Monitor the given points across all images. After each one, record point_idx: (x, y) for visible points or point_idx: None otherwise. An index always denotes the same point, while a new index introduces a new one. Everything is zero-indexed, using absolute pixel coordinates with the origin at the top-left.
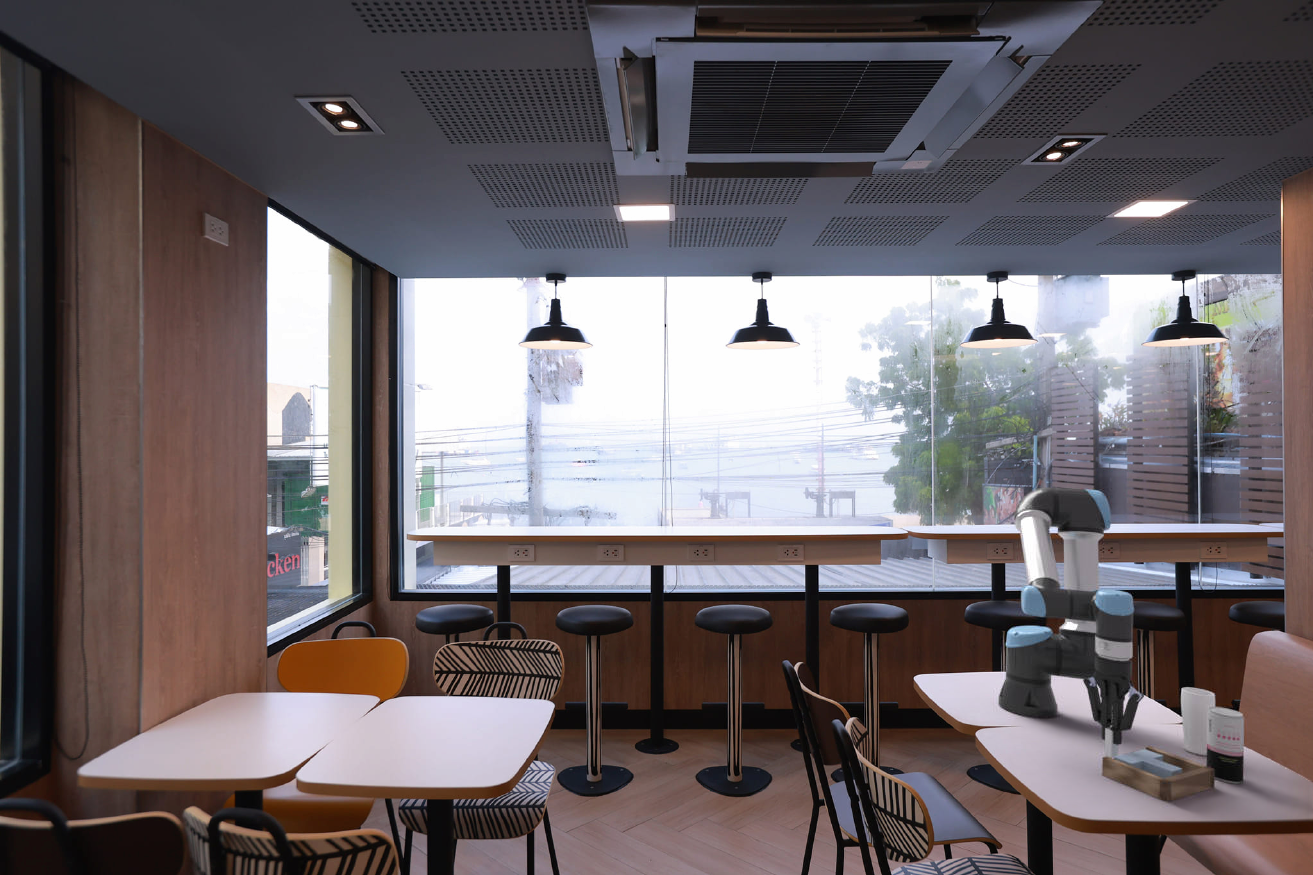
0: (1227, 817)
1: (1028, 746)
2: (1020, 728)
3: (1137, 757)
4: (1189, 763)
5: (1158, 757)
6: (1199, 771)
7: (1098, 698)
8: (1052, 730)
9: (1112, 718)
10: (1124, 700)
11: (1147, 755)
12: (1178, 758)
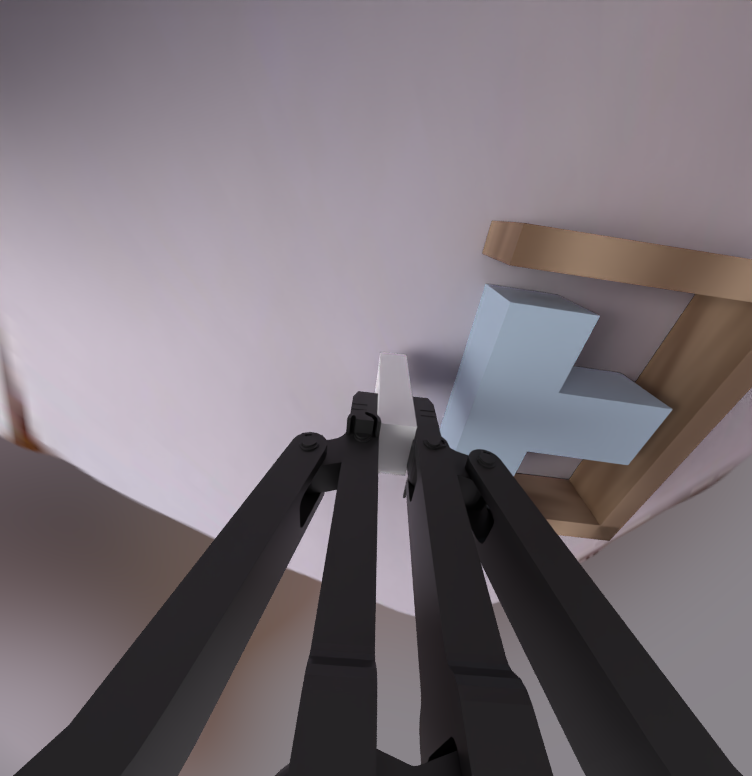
0: (717, 466)
1: (199, 457)
2: (27, 332)
3: (505, 434)
4: (722, 296)
5: (577, 352)
6: (746, 376)
7: (242, 602)
8: (44, 211)
9: (411, 533)
10: (519, 678)
11: (534, 379)
12: (676, 288)
